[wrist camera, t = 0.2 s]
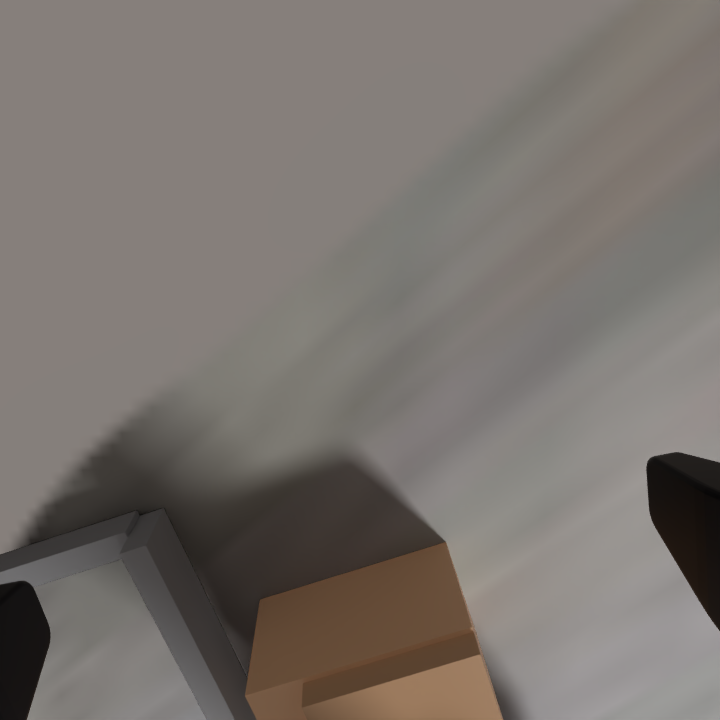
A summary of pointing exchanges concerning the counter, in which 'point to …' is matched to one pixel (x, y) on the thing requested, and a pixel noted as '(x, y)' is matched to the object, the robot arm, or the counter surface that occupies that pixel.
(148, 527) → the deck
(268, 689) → the brown cardboard carton
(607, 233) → the counter surface
